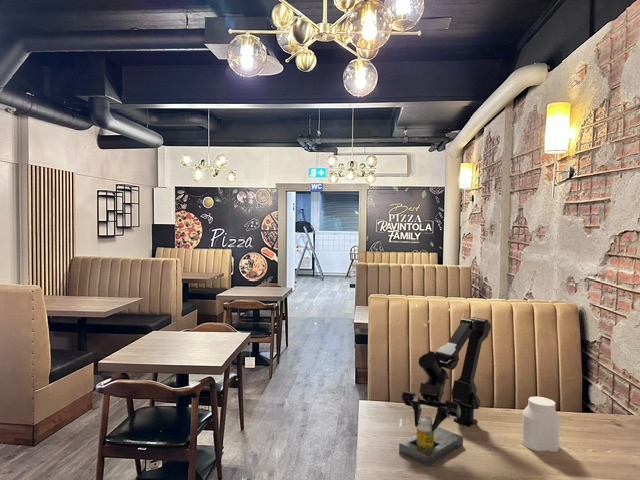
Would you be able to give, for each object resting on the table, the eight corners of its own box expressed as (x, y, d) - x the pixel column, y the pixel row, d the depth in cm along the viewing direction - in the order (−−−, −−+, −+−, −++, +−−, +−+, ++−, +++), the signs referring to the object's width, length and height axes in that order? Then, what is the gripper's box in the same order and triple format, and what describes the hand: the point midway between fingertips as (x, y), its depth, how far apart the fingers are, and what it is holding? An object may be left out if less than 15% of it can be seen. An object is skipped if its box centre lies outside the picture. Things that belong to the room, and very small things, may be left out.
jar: (529, 451, 151) (531, 406, 150) (516, 437, 160) (518, 395, 160) (564, 452, 151) (566, 407, 150) (550, 438, 160) (551, 396, 160)
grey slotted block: (434, 433, 162) (434, 425, 162) (462, 445, 154) (463, 436, 154) (399, 451, 148) (399, 442, 148) (427, 465, 140) (428, 456, 140)
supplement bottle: (424, 442, 152) (425, 413, 152) (437, 448, 148) (437, 419, 147) (412, 446, 149) (413, 417, 149) (425, 453, 145) (426, 423, 144)
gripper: (403, 367, 156) (390, 410, 147) (459, 377, 146) (448, 425, 137) (411, 383, 163) (398, 425, 154) (465, 394, 153) (455, 440, 144)
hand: (424, 428), depth 147 cm, fingers closed on supplement bottle, 5 cm apart
